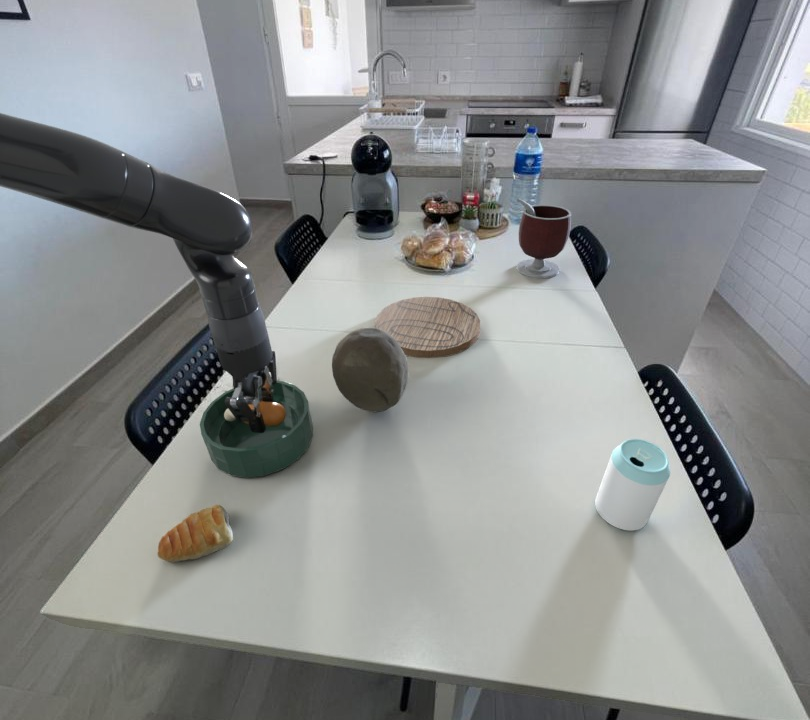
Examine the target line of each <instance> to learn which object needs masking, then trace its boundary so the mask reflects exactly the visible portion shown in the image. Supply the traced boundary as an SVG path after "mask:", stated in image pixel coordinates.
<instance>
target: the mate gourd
mask: <svg viewBox="0 0 810 720" xmlns="http://www.w3.org/2000/svg"><path fill="white" fill-rule="evenodd" d="M516 202H519V203H520V204H521V205H522V206H523V207H524V209H523V211H522V214H521V218H520V222H519V225H518V226H519V227H518V245H519V247H520V249H521V250H522V252H523V253H524V254H525V255H526V256H528V257H531V258H530V259H529V258H528V259H524V260H521V261H519V262H518V263H517V264H516V270H517V272H518V273H520V274H521V275H523V276H526V277H530V278H535V279H548V278H552V277H555V276H557V275H558V274H559V273H560V267H559V265H557V264H556V263H554V262H552V261H550V260H547V259H551V258H555V257H557V256H558V255H559V254H561V252H562V251H564V249H565V247H566V246H567V243H568V241H569V238H570V234H571V227H572V211H571V210H570V209H568V208H566V207H563V206H559V205H553V204H534V205H531V204H530V203H528V202H527V201H525V200H523V199H521V198H517V199H516Z"/></svg>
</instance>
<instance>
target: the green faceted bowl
mask: <svg viewBox="0 0 810 720" xmlns="http://www.w3.org/2000/svg"><path fill="white" fill-rule="evenodd" d="M273 388H274V393H273V399H274V402H276V403H279V404H281V405H282V406H283V407H284V409H285V411H286V417H285V419H284V421H283V422H282V423H281V424H280V425H278V426H274V427H271V426H265V427H266V429H265V431H264V433H255V432H252V431H251V429H250V426H249V424H246V423H245V422H243V421H237V419H236V420H234V421H227V420H226V419H225V417H224V413H225V411H226V410H227V409H228V407H227V406H226V405H225V399H226V398H227V397H231V398H232V396H233V393H234V391H235V389H234V388H233V387H232V388H231V389H229V390H227V391H224V392H223V393H221V394H220V395H219V396H217V397H216V398H215V399H213V400H212V401H211V402H210V404H209V405H208V406H207V407H206V409H205V410H204V411H203V412H202V415H201V419H200V421H199V428H200V429H199V430H200V434H201V437H202V439H203V443H204V445H205V447H206V450H207V453H208V455H209V458H210V460H211V462H212V463H213V465H215V466H216V468H218V470H219V471H221V472H223V473H225V474H228V475H230V476H232V477H239V478H245V479H246V478H248V479H249V478H257V477H264V476H268V475H271V474H274V473H277V472H280V471H282V470H284V469H286V468H287V467H289V466H290V465H292V464H293V463H295V462H296V461H298V460H299V459H300V458H301V457H302V456H303V454H304V453H305V452H306V451H307V450H308V449H309V446H310V444H311V442H312V440H313V437H314V425H313V421H312V420H313V419H312V414H311V409H310V404H309V403H310V402H309V400H308V398H307V395H306V394H305V392H304V391H303V390H302V389H300V388H299V387H298V386H296V385H295V384H293V383H290V382H287V381H284V380H277V384H276V385H273ZM247 397H255V396H247Z"/></svg>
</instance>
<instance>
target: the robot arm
mask: <svg viewBox="0 0 810 720" xmlns="http://www.w3.org/2000/svg"><path fill="white" fill-rule="evenodd" d="M0 188H4V189H8V190H12V191H14V192H18V193H22V194H25V195H28V196H31V197H35V198H38V199H42V200H45V201H48V202H50V203H54V204H57V205H60V206H64V207H67V208H70V209H73V210H76V211H79V212H83V213H86V214H89V215H91V216H95V217H98V218H100V219H104V220H107V221H110V222H114V223H116V224H119V225H123V226H125V227H129V228H133V229H137V230H140V231H141V230H142V231H145V232H151V233H156V234H161V235H163V236H165V237H168V238H171V239H172V240H173V243H174V245H175V247H176V248H177V251H178V252H179V254H180V256H181V258H182V260H183V261H184V263H185V266H186V267H187V269H188V270H189V272H190V274H191V275H192V277H193V278H194V280H195V282H196V284H197V286H198V288H199V292H200V296H201V300H202V302H203V307H204V309H205V312H206V315H207V322H208V327H209V331H210V335H211V337H212V341H213V345H214V347H215V351H216V354H217V356H218V360H219V362H220V365H221V368H222V369H223V370H224V371H225V372H227V373H228V374H229V375H230V376H231V378H232V389H233V388H234V389H235V391H234V393H233V396H232V398H231V397H227V398H226V399H225V405H226V406H227V407H228V409H229V410H230V411H231V413H232V414H233V415H234V417H235V418H236V419H237V421H244V422H248V423H249V426H250V429H251V431H252V432H255V433H264V431H265V429H266V427H265V424H264V420H263V417H262V414H261V408H260V403H261V402H262V401H265V402H274V399H273V393H274V388H273V385H276V384H277V381H278V373H277V358H276V351H275V350H272V345H271V340H270V337H269V332H268V329H267V328H268V327H267V324H266V320H265V316H264V313H263V311H262V308H261V305H260V301H259V297H258V293H257V289H256V285H255V284H256V283H255V279H254V277H253V275H252V272H251V271H250V269H249V268H248V267H247V266H246V265H245V264H244V263H242V262H241V261H240V260H238V258H237V257H236V256H235V254H238V253H240V252H241V251H243V250H244V249H245V248H246V247H247V246H248V245H249V243H250V242H251V239H252V237H253V222H252V219H251V217H250V214H249V213H248V210H246V208H245V207H244V206H243V205H242V204H241V203H240V202H239V201H238V200H236V199H234V198H232V197H230V196H229V195H227V194H224V193H222V192H220V191H217V190H214V189H212V188H208V187H206V186H203V185H201V184H198V183H195V182H192V181H190V180H186V179H183V178H180V177H178V176H175V175H173V174H170V173H168V172H166V171H164V170H162V169H160V168H158V167H156V166H155V165H152V163H149V162H148V161H145V160H142V159H140V158H138V157H137V156H134V155H132V154H130V153H127V152H125V151H123V150H120V149H119V148H116V147H114V146H112V145H110V144H107V143H105V142H103V141H100V140H97V139H94V138H92V137H89V136H86V135H82V134H80V133H77V132H74V131H70V130H67V129H64V128H60V127H56V126H52V125H48V124H44V123H41V122H37V121H33V120H29V119H25V118H21V117H17V116H13V115H10V114H6V113H2V112H0ZM247 396H255V397H247ZM248 404H249V405H253V406H254V409H251V408H250V407H249V405H248Z"/></svg>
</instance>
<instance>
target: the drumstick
mask: <svg viewBox="0 0 810 720" xmlns="http://www.w3.org/2000/svg"><path fill="white" fill-rule="evenodd" d="M248 405H249V404H248ZM249 407H250V408H251V409H254V406H253V405H249ZM260 408H261V414H262V417H263V420H264V424H265V426H271V427H274V426H278V425H280V424H281V423H282V422H283V421H284V419H285V417H286V411H285V409H284V407H283V406H282V405H281V404H279V403H276V402H265V401H262V402H261V403H260ZM224 417H225V419H226V420H227V421H234V420H236V418H235V417H234V415H233V414H232V413H231V411H230V410H229V409H227V410H226V411H225V413H224ZM243 422H244V421H243ZM245 423H246V424H249V423H248V422H245Z"/></svg>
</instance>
